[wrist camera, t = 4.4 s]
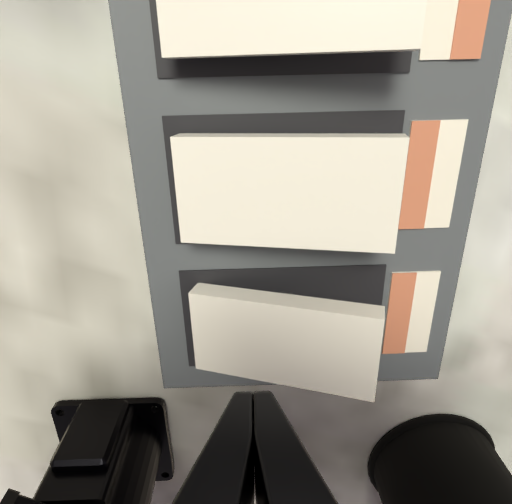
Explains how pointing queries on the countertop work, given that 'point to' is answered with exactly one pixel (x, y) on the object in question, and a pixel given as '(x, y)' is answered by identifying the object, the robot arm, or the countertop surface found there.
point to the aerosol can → (439, 464)
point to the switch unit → (318, 121)
